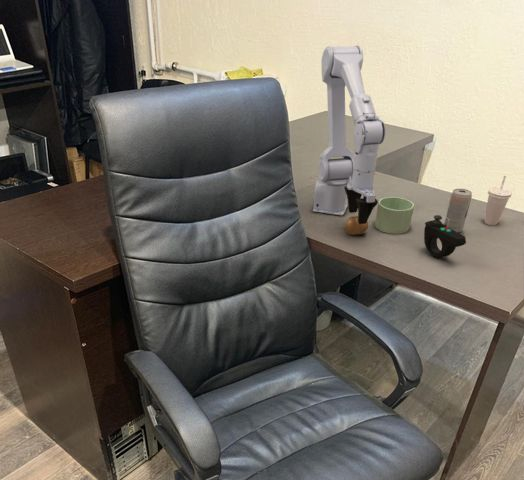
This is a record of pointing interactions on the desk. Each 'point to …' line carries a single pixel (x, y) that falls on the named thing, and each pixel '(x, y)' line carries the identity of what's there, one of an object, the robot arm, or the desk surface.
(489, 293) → the desk surface
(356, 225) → the bean
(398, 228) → the cup
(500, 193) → the smoothie
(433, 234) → the controller
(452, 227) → the energy drink
